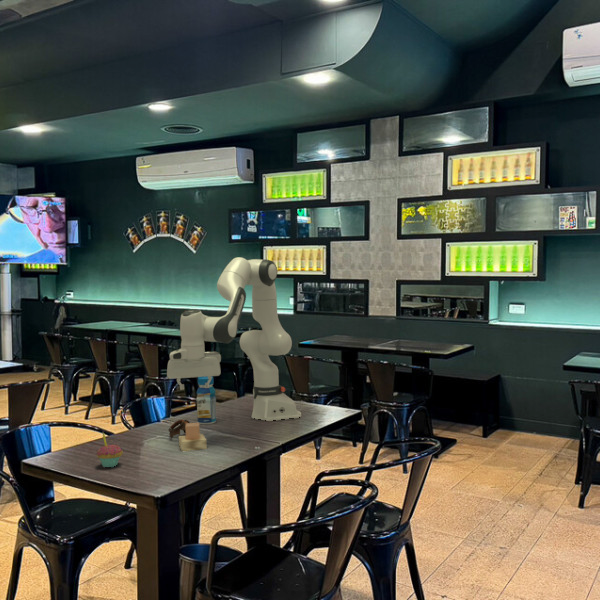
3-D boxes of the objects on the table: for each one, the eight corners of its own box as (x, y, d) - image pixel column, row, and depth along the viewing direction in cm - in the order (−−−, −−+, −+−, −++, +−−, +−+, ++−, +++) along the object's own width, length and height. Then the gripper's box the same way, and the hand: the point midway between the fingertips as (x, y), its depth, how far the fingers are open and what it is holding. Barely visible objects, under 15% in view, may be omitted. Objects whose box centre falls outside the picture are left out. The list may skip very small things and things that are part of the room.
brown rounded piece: (194, 441, 246) (183, 425, 243) (174, 451, 247) (163, 435, 245) (200, 426, 257) (189, 410, 255) (180, 436, 259) (170, 420, 256)
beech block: (202, 444, 242) (202, 433, 242) (206, 450, 233) (206, 439, 233) (179, 446, 239) (178, 436, 239) (182, 452, 230) (181, 442, 230)
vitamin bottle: (220, 422, 273) (218, 377, 272) (202, 425, 269) (200, 379, 268) (211, 419, 280) (210, 374, 279) (193, 422, 276) (192, 376, 275)
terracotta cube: (199, 435, 239) (199, 422, 239) (199, 439, 234) (199, 425, 234) (186, 436, 238) (186, 423, 238) (185, 439, 233) (185, 426, 233)
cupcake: (98, 470, 210) (97, 435, 209) (95, 464, 218) (94, 429, 217) (124, 467, 213) (123, 432, 213) (121, 460, 221) (120, 426, 221)
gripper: (220, 349, 243) (221, 385, 244) (166, 353, 240) (168, 388, 241) (221, 352, 237) (222, 388, 238) (165, 355, 234) (167, 392, 234)
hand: (194, 388), depth 239 cm, fingers open, 8 cm apart
